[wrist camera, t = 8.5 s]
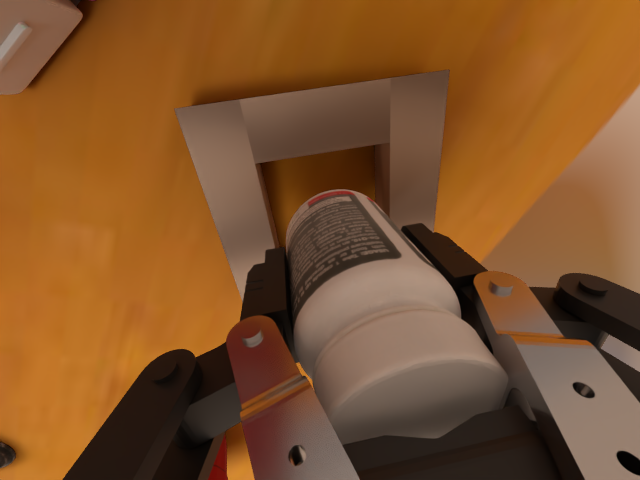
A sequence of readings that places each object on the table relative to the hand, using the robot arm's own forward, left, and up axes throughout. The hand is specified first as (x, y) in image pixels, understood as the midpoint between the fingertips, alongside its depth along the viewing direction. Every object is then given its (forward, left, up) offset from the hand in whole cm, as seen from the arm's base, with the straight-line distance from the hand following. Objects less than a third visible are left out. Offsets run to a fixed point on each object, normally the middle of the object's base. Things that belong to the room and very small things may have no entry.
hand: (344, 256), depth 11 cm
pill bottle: (0, 0, -2) cm, 2 cm away
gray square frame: (0, 0, -7) cm, 7 cm away
